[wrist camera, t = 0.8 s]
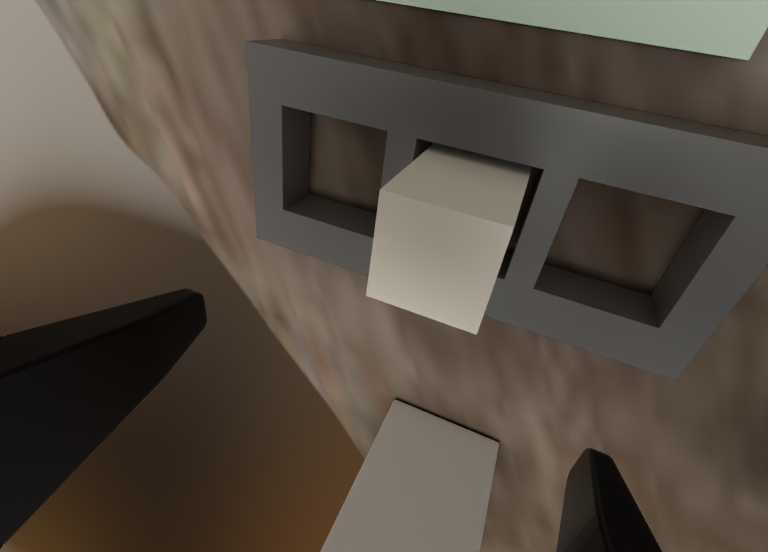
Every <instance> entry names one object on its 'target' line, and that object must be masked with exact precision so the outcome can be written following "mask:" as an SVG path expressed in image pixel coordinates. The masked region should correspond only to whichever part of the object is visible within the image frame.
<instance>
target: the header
mask: <svg viewBox="0 0 768 552" xmlns="http://www.w3.org/2000/svg"><path fill="white" fill-rule="evenodd" d="M246 47H247V65H248V83H249V101H250V119H251V137H252V155H253V173H254V191H255V209H256V228H257V238H259V239H262V240H265V241H268V242H271V243H274V244H277V245H280V246H282V247H285V248H288V249H291V250H294V251H297V252H300V253H303V254H306V255H309V256H312V257H315V258H318V259H321V260H323V261H326V262H329V263H332V264H335V265H338V266H341V267H344V268H347V269H350V270H353V271H356V272H359V273H362V274H364V275H367V276H369V269H370V261H371V254H372V246H373V238H374V231H375V223H376V215H377V214H376V213H373V212H369V211H366V210H363V209H359V208H356V207H353V206H349V205H346V204H343V203H339V202H336V201H333V200H329V199H326V198H323V197H319V196H316V195H313V194H309V160H310V120H311V113H315V114H320V115H324V116H328V117H332V118H336V119H340V120H344V121H348V122H352V123H356V124H360V125H364V126H369V127H373V128H377V129H381V130H385V131H388V133H387V140H386V148H385V156H384V163H383V171H382V179H381V186H380V189H381V188H382V187H383V186H385V185H386V184H387V183H388V182H389V181H390V180H392V179H393V178H394V177H395V176H396V175H397V174H399V173H400V172H401V171H402V170H403V169H404V168H406V167H407V166H408V165H409V164H410V163H412V162H413V161H414V160H415V159H416V158H417V157H419V156H420V155H421V154H422V153H423V152H424V151H426V150H427V149H428V148H429V147H430V144H431V142H434V143H438V144H442V145H446V146H450V147H454V148H458V149H463V150H467V151H471V152H475V153H479V154H483V155H487V156H491V157H495V158H499V159H503V160H507V161H512V162H516V163H520V164H524V165H528V166H532V167H536V168H540V169H542V171H541V174H540V176H539V179H538V182H537V185H536V188H535V190H534V193H533V196H532V199H531V201H530V204H529V207H528V210H527V213H526V215H525V218H524V221H523V224H522V227H521V229H520V232H519V235H518V238H517V240H516V243H515V246H514V249H513V252H512V254H510V253H506V252H505V255H504V258H503V261H502V264H501V267H500V269H499V272H498V275H497V278H496V281H495V284H494V287H493V289H492V292H491V295H490V298H489V301H488V304H487V307H486V310H485V312H484V316H487V317H490V318H493V319H496V320H499V321H502V322H505V323H508V324H511V325H514V326H517V327H520V328H523V329H525V330H528V331H531V332H534V333H537V334H540V335H543V336H546V337H549V338H552V339H555V340H558V341H561V342H564V343H566V344H569V345H572V346H575V347H578V348H581V349H584V350H587V351H590V352H593V353H596V354H599V355H602V356H605V357H607V358H610V359H613V360H616V361H619V362H622V363H625V364H628V365H631V366H634V367H637V368H640V369H643V370H646V371H648V372H651V373H654V374H657V375H660V376H663V377H666V378H669V379H672V380H675V381H676V380H677V378H678V377H679V376H680V375H681V373H682V372H683V371H684V370H685V368H686V367H687V366H688V364H689V363H690V362H691V361H692V359H693V358H694V357H695V356H696V354H697V353H698V352H699V351H700V349H701V348H702V347H703V345H704V344H705V343H706V342H707V340H708V339H709V338H710V337H711V335H712V334H713V333H714V332H715V330H716V329H717V328H718V327H719V325H720V324H721V323H722V321H723V320H724V319H725V318H726V316H727V315H728V314H729V313H730V311H731V310H732V309H733V308H734V306H735V305H736V304H737V303H738V301H739V300H740V299H741V297H742V296H743V295H744V294H745V292H746V291H747V290H748V289H749V287H750V286H751V285H752V284H753V282H754V281H755V280H756V279H757V277H758V276H759V275H760V273H761V272H762V271H763V270H764V268H765V267H766V266H767V265H768V136H763V135H758V134H753V133H748V132H743V131H738V130H733V129H728V128H723V127H718V126H713V125H708V124H703V123H698V122H693V121H688V120H683V119H678V118H673V117H668V116H663V115H658V114H653V113H648V112H643V111H638V110H633V109H628V108H623V107H618V106H613V105H608V104H603V103H598V102H593V101H588V100H583V99H578V98H573V97H568V96H563V95H558V94H553V93H548V92H543V91H538V90H533V89H528V88H523V87H518V86H513V85H508V84H503V83H498V82H493V81H488V80H483V79H478V78H473V77H468V76H463V75H458V74H453V73H448V72H443V71H438V70H432V69H427V68H422V67H417V66H412V65H407V64H402V63H397V62H392V61H387V60H382V59H377V58H372V57H367V56H362V55H357V54H352V53H347V52H342V51H337V50H332V49H327V48H322V47H317V46H312V45H307V44H302V43H297V42H292V41H287V40H282V39H276V40H258V41H246ZM579 178H581V179H585V180H589V181H593V182H597V183H601V184H606V185H610V186H614V187H618V188H622V189H626V190H630V191H634V192H638V193H642V194H646V195H651V196H655V197H659V198H663V199H667V200H671V201H675V202H679V203H683V204H687V205H691V206H695V207H700V208H704V211H703V213H702V214H701V216H700V217H699V219H698V221H697V222H696V224H695V225H694V227H693V229H692V230H691V232H690V233H689V235H688V236H687V238H686V240H685V241H684V243H683V244H682V246H681V248H680V249H679V251H678V252H677V254H676V256H675V257H674V259H673V260H672V262H671V264H670V265H669V267H668V268H667V270H666V271H665V273H664V275H663V276H662V278H661V279H660V281H659V283H658V284H657V286H656V287H655V289H654V291H653V292H652V294H651V295H646V294H643V293H640V292H636V291H633V290H630V289H626V288H623V287H620V286H616V285H613V284H610V283H606V282H603V281H600V280H596V279H593V278H590V277H586V276H583V275H580V274H576V273H573V272H570V271H566V270H563V269H560V268H556V267H553V266H550V265H546V264H544V262H545V259H546V257H547V255H548V252H549V250H550V247H551V245H552V243H553V240H554V238H555V235H556V233H557V231H558V228H559V226H560V223H561V221H562V219H563V216H564V214H565V212H566V209H567V207H568V204H569V202H570V200H571V197H572V195H573V192H574V190H575V188H576V185H577V183H578V180H579Z"/></svg>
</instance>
